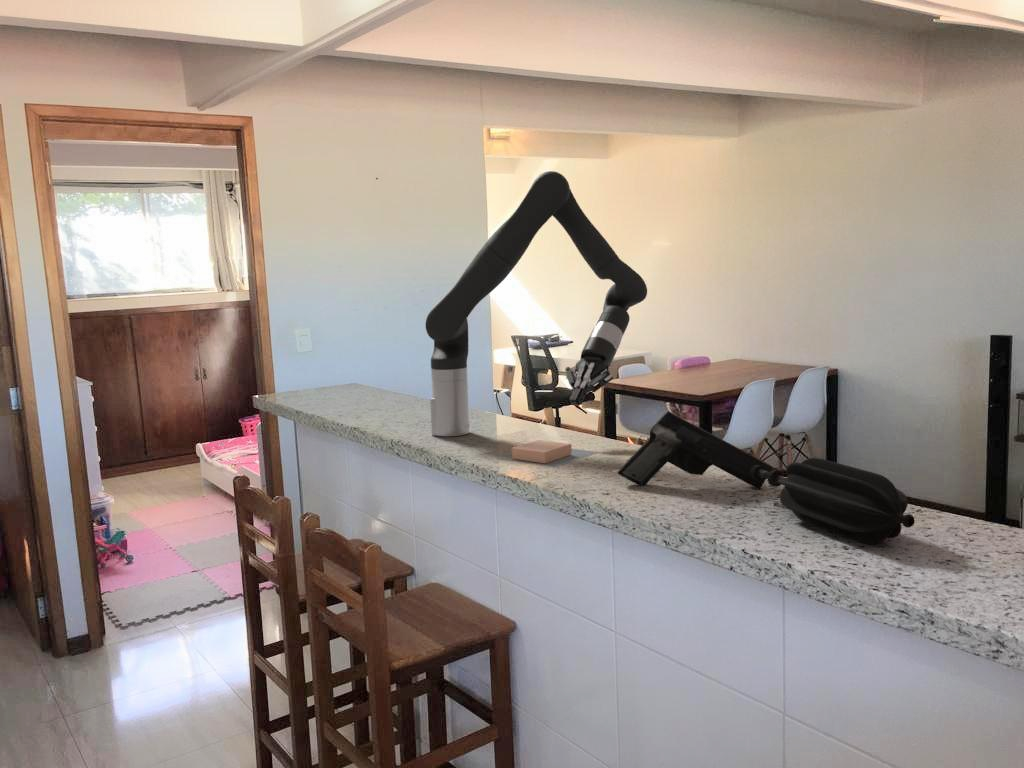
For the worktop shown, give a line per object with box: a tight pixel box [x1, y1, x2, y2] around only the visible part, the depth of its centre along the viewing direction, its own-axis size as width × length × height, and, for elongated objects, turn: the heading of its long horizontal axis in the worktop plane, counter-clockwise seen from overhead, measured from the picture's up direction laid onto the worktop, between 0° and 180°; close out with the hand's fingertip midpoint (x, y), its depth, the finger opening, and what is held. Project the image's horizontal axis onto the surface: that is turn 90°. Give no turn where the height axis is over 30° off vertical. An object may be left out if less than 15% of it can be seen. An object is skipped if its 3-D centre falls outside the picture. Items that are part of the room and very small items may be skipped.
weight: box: [750, 457, 916, 545], centre depth 132 cm, size 34×10×10 cm, turn 22°
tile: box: [511, 439, 572, 463], centre depth 185 cm, size 9×3×10 cm
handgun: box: [617, 410, 773, 490], centre depth 158 cm, size 2×24×15 cm, turn 78°
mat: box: [496, 448, 600, 468], centre depth 187 cm, size 16×17×1 cm
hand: (574, 403), depth 195 cm, fingers closed
